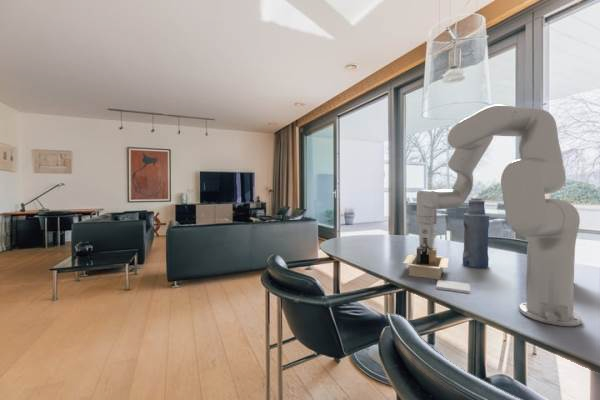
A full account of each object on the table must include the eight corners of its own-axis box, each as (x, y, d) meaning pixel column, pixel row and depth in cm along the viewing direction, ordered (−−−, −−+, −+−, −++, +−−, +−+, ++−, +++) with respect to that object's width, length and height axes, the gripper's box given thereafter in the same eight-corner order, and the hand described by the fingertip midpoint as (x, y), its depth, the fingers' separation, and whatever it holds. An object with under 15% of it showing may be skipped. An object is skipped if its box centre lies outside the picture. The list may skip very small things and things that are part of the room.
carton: (447, 282, 104) (447, 269, 104) (401, 276, 112) (401, 264, 112) (449, 268, 121) (449, 257, 121) (409, 263, 129) (409, 253, 129)
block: (435, 274, 113) (435, 249, 113) (416, 272, 116) (416, 248, 116) (436, 271, 117) (436, 247, 117) (418, 269, 120) (418, 246, 120)
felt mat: (469, 293, 93) (469, 291, 93) (436, 288, 98) (436, 286, 98) (469, 285, 100) (469, 283, 100) (437, 281, 105) (437, 279, 105)
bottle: (460, 262, 131) (460, 197, 130) (484, 263, 128) (484, 197, 127) (466, 267, 122) (466, 198, 121) (492, 269, 119) (493, 198, 118)
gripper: (434, 223, 107) (434, 267, 107) (438, 218, 122) (437, 257, 122) (413, 222, 110) (413, 265, 111) (419, 217, 125) (418, 255, 126)
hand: (425, 260), depth 117 cm, fingers open, 9 cm apart
